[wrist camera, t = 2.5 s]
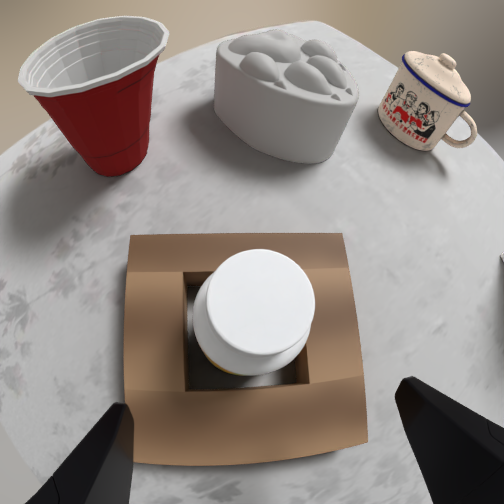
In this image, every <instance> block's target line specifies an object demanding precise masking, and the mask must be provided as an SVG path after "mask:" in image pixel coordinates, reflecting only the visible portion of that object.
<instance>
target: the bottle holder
mask: <svg viewBox="0 0 504 504" xmlns="http://www.w3.org/2000/svg"><path fill="white" fill-rule="evenodd" d="M253 249H265V250H271V251H275V252H278V253H280V254H283V255H285V256H287V257H288V258H290V259H291V260H293V261H294V262H295V263H296V264H298V265H299V267H300V268H301V269H302V270H303V271H304V272H305V274H306V275H307V277H308V279H309V281H310V283H311V285H312V288H313V292H314V297H315V311H314V316H313V320H312V323H311V328H310V332H309V336H308V338H307V341H306V343H305V345H304V347H303V348H302V350H301V351H300V353H299V354H298V355H297V356H296V357H295V358H294V359H295V371H296V383H291V384H282V385H271V386H259V387H244V388H223V389H190V385H189V363H188V329H187V286H202V285H203V283H204V282H205V281H206V279H207V278H208V277H209V276H210V275H211V274H212V273H214V272H215V271H216V270H217V268H218V267H219V266H220V265H221V264H222V263H223V262H224V261H225V260H227V259H228V258H230V257H231V256H233V255H235V254H237V253H240V252H243V251H247V250H253ZM124 392H125V403H126V404H127V405H128V406H129V409H130V411H131V414H132V416H133V419H134V457H133V462H137V463H148V464H162V465H185V466H213V465H237V464H251V463H261V462H271V461H279V460H286V459H293V458H299V457H305V456H311V455H316V454H321V453H326V452H331V451H336V450H340V449H344V448H348V447H352V446H356V445H360V444H364V443H367V442H368V430H367V411H366V396H365V384H364V373H363V363H362V354H361V345H360V337H359V329H358V322H357V315H356V308H355V301H354V295H353V289H352V283H351V277H350V271H349V266H348V260H347V255H346V250H345V245H344V240H343V235H342V233H217V234H157V235H130V244H129V254H128V264H127V277H126V291H125V310H124Z"/></svg>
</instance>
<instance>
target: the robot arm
mask: <svg viewBox="0 0 504 504" xmlns="http://www.w3.org/2000/svg"><path fill="white" fill-rule="evenodd" d="M395 401H396V404H397V407H398V410H399V414H400V417H401V420H402V424H403V427H404V430H405V433H406V436H407V438H408V440H409V443H410V445H411V448H412V450H413V452H414V455H415V457H416V460H417V462H418V465H419V467H420V470H421V472H422V475H423V478H424V480H425V483H426V485H427V488H428V491H429V493H430V496H431V499H432V502H433V504H504V428H503V427H501V426H499V425H497V424H495V423H493V422H492V421H490V420H488V419H486V418H484V417H483V416H481V415H479V414H477V413H476V412H474V411H472V410H470V409H469V408H467V407H465V406H463V405H462V404H460V403H458V402H457V401H455V400H453V399H451V398H450V397H448V396H446V395H445V394H443V393H441V392H439V391H438V390H436V389H434V388H433V387H431V386H429V385H427V384H426V383H424V382H422V381H421V380H419V379H417V378H416V377H413V376H410V377H407V378H404V379H402V381H401V383H400V385H399V387H398V389H397V391H396V393H395ZM133 457H134V419H133V416H132V414H131V411H130V409H129V406H128V405H127V404H126V403H118V402H115V403H113V404H112V405H111V407H110V408H109V409H108V410H107V411H106V412H105V414H104V415H103V416H102V417H101V418H100V419H99V421H98V422H97V423H96V424H95V425H94V426H93V428H92V429H91V430H90V431H89V432H88V433H87V435H86V436H85V437H84V438H83V439H82V441H81V442H80V443H79V444H78V445H77V446H76V448H75V449H74V450H73V451H72V452H71V453H70V455H69V456H68V457H67V458H66V459H65V460H64V462H63V463H62V464H61V465H60V466H59V468H58V469H57V470H56V471H55V472H54V473H53V476H51V477H50V478H49V479H48V480H47V482H46V483H45V484H44V485H43V486H42V487H41V488H40V489H39V490H38V492H37V493H36V494H35V495H34V496H32V497H31V498H30V499H29V500H28V501H27V502H26V503H25V504H129V497H130V488H131V480H132V473H133Z"/></svg>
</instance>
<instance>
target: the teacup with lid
mask: <svg viewBox="0 0 504 504" xmlns="http://www.w3.org/2000/svg"><path fill="white" fill-rule="evenodd" d="M455 67H456V62H455V60H454V59H453V58H451V57H450V56H448V55H446V54H444V53H443V54H441V55H440V57H437V56H434V55H425V54H423V53H420V52H416V51H410V52H407V53H406V54H404V55H403V56H402V64H401V65H400V67H399V69H398V71H397V73H396V75H395V77H394V79H393V81H392V83H391V85H390V86H389V88H388V90H387V92H386V94H385V96H384V98H383V100H382V102H381V103H380V105H379V108H378V113H379V117H380V119H381V121H382V123H383V124H384V126H385V127H386V128H387V129H388V131H389V132H390V133H391V134H392V135H394V136H395V137H396V138H397V139H398V140H400V141H401V142H403V143H404V144H406V145H408V146H410V147H412V148H414V149H417V150H422V151H428V150H431V149H433V148H434V147H435V146H436V145H437V143H438V142H439V141H440V140H441V139H442V140H443V141H444V142H446V143H447V144H448V145H450V146H452V147H455V148H464V147H467V146H469V145H470V144H472V143H473V142H474V140H475V138H476V136H477V127H476V124H475V122H474V121H473V119H472V118H471V117H470V116H469V115H468V114H467V113H466V112H465V111H464V110H463V109H464V107H468V106H469V105H470V101H471V95H470V92H469V90H468V88H467V87H466V86H465V85H464V83H463V82H462V80H461V78H460V76H459V74H458V72H457V71H456V70H455V69H454V68H455ZM458 116H461V117H462V118H463V119H464V120H465V121H466V122H467V123H468V125H469V126H470V129H471V136H470V137H469V138H468V139H466V140H463V141H457V140H454V139H452V138H451V137H449V136H448V135H447V134H446V132H447V130H448V129H449V128H450V127H451V125H452V124H453V123H454V121H455V120H456V119H457V117H458Z"/></svg>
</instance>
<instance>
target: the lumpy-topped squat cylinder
mask: <svg viewBox="0 0 504 504" xmlns="http://www.w3.org/2000/svg"><path fill="white" fill-rule="evenodd" d="M358 98H359V89H358V85H357V82H356V80H355V79H354V77H353V76H352V74H351V73H350V72H349V70H348V69H347V68H346V67H345V65H343V64H342V63H341V62H340V61H338V60H337V56H336V54H335V52H334V50H333V48H332V47H331V46H330V45H329V44H327V43H325V42H323V41H320V40H309V41H305V40H303V39H301V38H299V37H296V36H294V35H291V34H289V33H287V32H285V31H283V30H277V29H275V30H270V31H267V32H263V33H259V34H252V35H244V36H241V37H239V38H236V39H231V40H227V41H224V42H222V43H221V44H219V46H218V48H217V52H216V68H215V90H214V111H215V113H216V115H217V116H218V117H219V119H220V120H221V121H222V122H223V123H224V124H225V125H226V126H227V127H228V128H229V129H230V130H231V131H232V132H233V133H234V134H235V135H237V136H238V137H239V138H240V139H241V140H243V141H244V142H245V143H246V144H248V145H249V146H251V147H252V148H254V149H255V150H257V151H260V152H262V153H265V154H267V155H270V156H273V157H276V158H279V159H282V160H286V161H290V162H295V163H307V164H313V163H320V162H323V161H326V160H327V159H329V158H330V157H331V156H332V154H333V152H334V150H335V148H336V146H337V144H338V142H339V140H340V138H341V135H342V133H343V131H344V129H345V127H346V125H347V123H348V121H349V119H350V117H351V114H352V112H353V110H354V108H355V106H356V104H357V102H358Z"/></svg>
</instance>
